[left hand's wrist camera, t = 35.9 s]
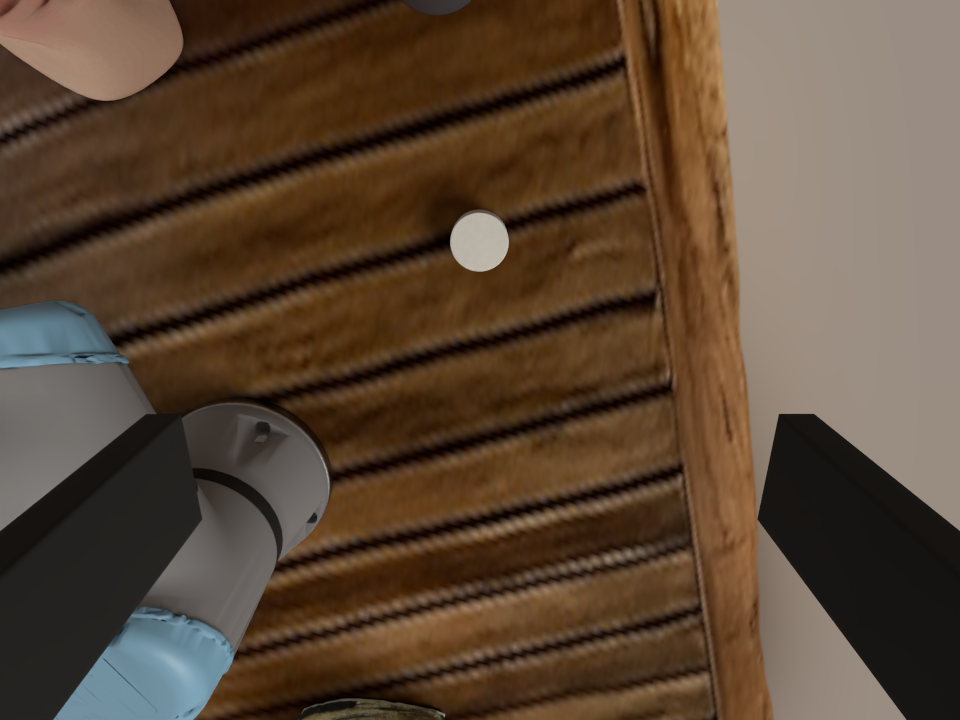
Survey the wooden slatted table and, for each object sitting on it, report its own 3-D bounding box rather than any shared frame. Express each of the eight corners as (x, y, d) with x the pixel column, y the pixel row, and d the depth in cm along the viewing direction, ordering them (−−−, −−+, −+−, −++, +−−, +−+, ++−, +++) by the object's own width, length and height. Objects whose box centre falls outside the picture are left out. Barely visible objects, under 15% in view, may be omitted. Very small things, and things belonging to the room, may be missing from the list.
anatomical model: (180, 2, 36) (84, 143, 38) (208, 15, 39) (119, 144, 42) (-19, -186, 32) (-107, -16, 35) (33, -152, 36) (-50, -1, 39)
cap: (458, 270, 46) (457, 276, 44) (446, 215, 44) (444, 219, 42) (511, 259, 45) (513, 265, 43) (501, 204, 44) (502, 207, 42)
